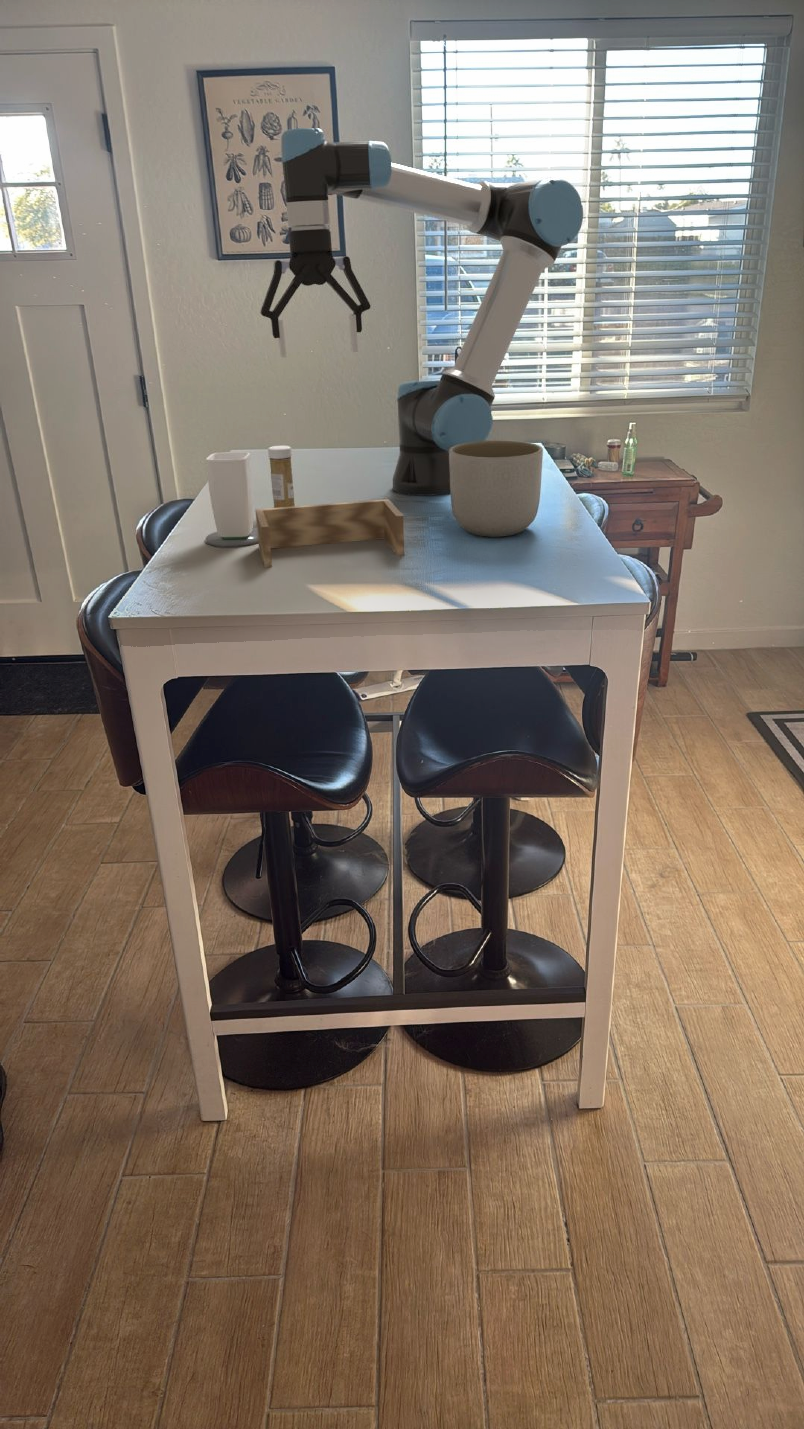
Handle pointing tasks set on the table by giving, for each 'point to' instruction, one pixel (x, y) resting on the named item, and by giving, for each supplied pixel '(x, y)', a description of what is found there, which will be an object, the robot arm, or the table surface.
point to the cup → (231, 493)
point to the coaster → (232, 540)
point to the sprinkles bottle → (281, 476)
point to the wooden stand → (329, 525)
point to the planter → (495, 486)
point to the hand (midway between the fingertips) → (319, 354)
